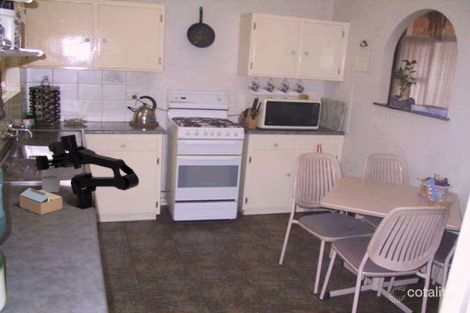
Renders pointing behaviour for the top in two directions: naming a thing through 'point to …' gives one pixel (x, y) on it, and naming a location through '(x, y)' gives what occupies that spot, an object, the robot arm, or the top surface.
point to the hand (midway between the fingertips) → (43, 164)
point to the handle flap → (35, 195)
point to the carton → (42, 204)
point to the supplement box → (51, 179)
